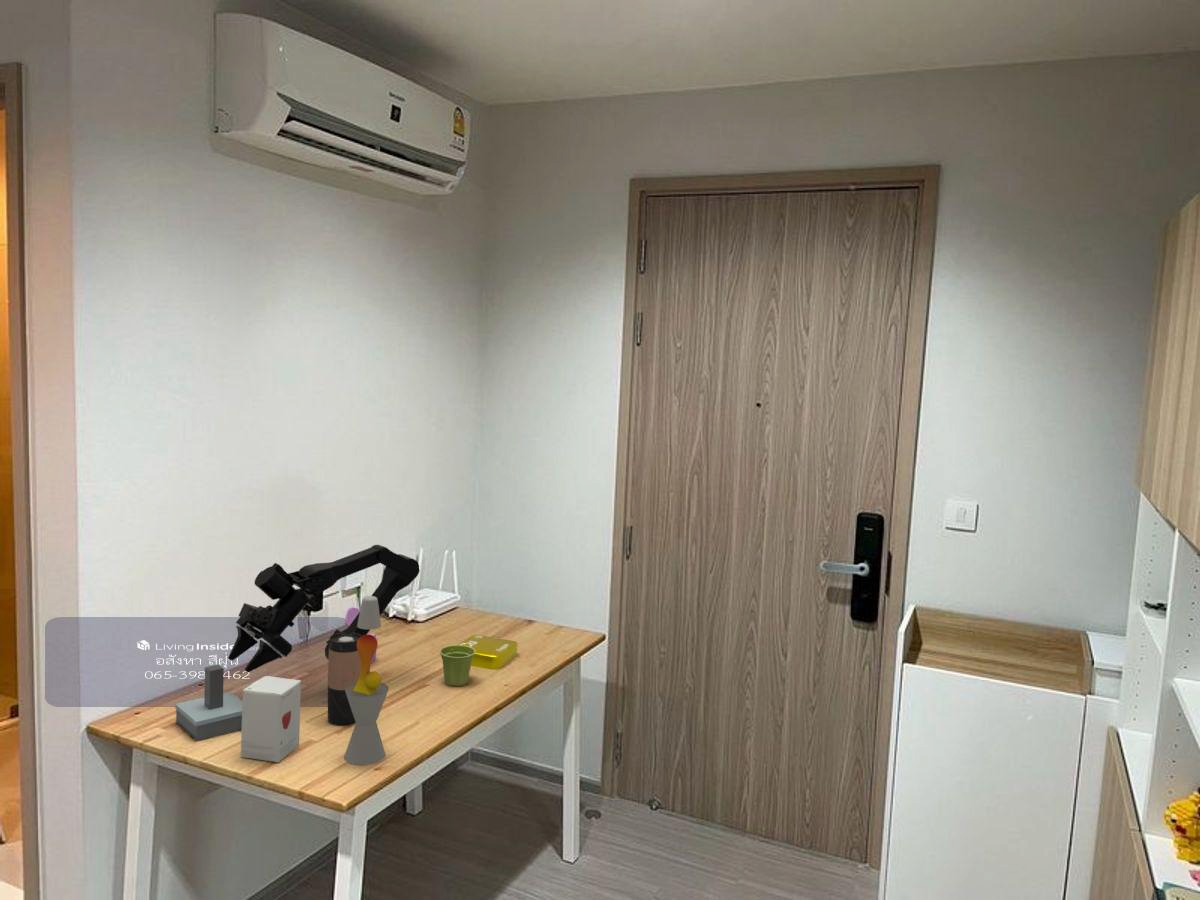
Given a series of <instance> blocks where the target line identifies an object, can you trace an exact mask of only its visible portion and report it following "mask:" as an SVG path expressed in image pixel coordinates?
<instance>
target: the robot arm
mask: <svg viewBox="0 0 1200 900" xmlns="http://www.w3.org/2000/svg"><path fill="white" fill-rule="evenodd" d="M378 564H381V565H383V566H385V567H384V569H383V574H382V580H381V582H380V583H379V584H378V586H377V587H376V588H375V590H374V591H373V593H372V595H371V596H374V597H376V598H377V599H378V606H379V614H380V616H381V615H382V614H383V613H384V611H385V610H386V608H387V607H388V606H389V604H390V603H391V601H392V600H393V598H394V597H395V596H396V594H397V593H398V592H399V591H401V590H403V589H405V588H407V587H408V586H410V584H411V583H412V582H414V580H415V579H416V578H417V577H418V575H419V574H420V563H419V562H418V560H416V559H414V558H412V557H411V556H410V557H409V556H407V555H404V554H401V553H399V554H398V553H395V552H394V551H392V550H390V549H389V548H388V547H386V546H384V545H381V544H374V545H371V547H369V548H366V549H363V550H360V551H357V552H355V553H353V554H350V555H347V556H345V557H342V558H339V559H337V560H334V561H331V562H330V561H329V562H318V563H313V564H307V565H304V566H302V567H301V568H300V569H299V570H297V571H296V570H295V571H292V572H289V573H288V572H287V571H285V569H284V568H283V566H281V565H280V564H278V563H277V562H275V563H273V564H272V565H271V566H269V567H267V568H265V569H263V570H262V571H260V572H259V573H257V576H256V578H255V579H254V586H256V588H258V589H259V590H260V591H262V592H263V593H264V594H265V595H266V596H267V598H269V599H271V600H272V601H273V600H274V601H275V600H277V601H276V602H275V603H274V604H273V605H271V604H269V605H267V606H265V607H264V606H262V605H260V606H255V605H251V604H249V603H246V602H244V603H243V605H242V607H241V609H240V612H239V613H238V617H239V618H238V619H237V620H236V621H235V623H236V624H237V625H236V627H235V628H236V629H237V630H236V631H237V637H236V640H235V643H234V644H233V646H232V648H231V650H230V653H229V654H228V658H227V659H228V660H229V661H231V662H233V661H234V660H235V659H237V658H239V657H240V656H241V655H243V654H244V653H245V652H247V651H248V650H250V649H251V648H252V647H253V646H255V645H256V644H258V643H259V644H258V649H257V651H256V652H255V654H254V655H253V656H252V658H251V659H250V661H249V662H248V664H247V665H246V667H245V668H244V671H245V672H246V673H250V672H252V671H254V670H257V669H258V668H260V667H262V666H264V665H266V664H268V663H271V662H272V661H273V662H274V661H275V660H277V659H282V658H283V656H284V657H285V658H287V657H288V656H289V655H290V653H291V652H292V650H293V647H292V646H293V645H292V644H291V643H290V642H289V641H288V640H287V639H285V638H284V637H283V636H282V634H283V633H284V631H285V630H286V629H287V628H288V627H291V628H292V627H293V626H294V625H295V623H294V622H293V621H294V620H295V618H296V617H297V616H298V615H299V614H300V613H301V611H303V609H304V608H305V607H307V606H309V607H311V608H313V609H315V608H316V596H315V595H313V594H321V593H323V592H324V591H326V590H328V589H330V588H332V587H333V586H334V585H335V584H336V583H337V582H338V581H340V580H341V579H343V578H346V577H347V576H351V575H354V574H356V573H358V572H361V571H363V570H366V569H369V568H372V567H373V566H377V565H378ZM294 586H296V587H298V588H295V587H294ZM304 590H307V591H308V592H311V593H313V594H307V593H306V591H304ZM306 605H307V606H306ZM359 614H360V612H359V613H358V615H357V616H356V618H355V619H354V620H353V622H352V623H351V624H350V626H349V627H348V628H346V629H343V630H339V629H336V630H334V632H333V634H332V635H334V634H337V633H342V634H344V635H349V634H351V633H357V634H360V635H361V636H363V635H366V634H369V632H370V631H371V629H360V628H358V627H357V624H358V619H359ZM262 639H263V640H262ZM258 640H259V641H258ZM325 643H326V646H325V647H324V656H325V658H326V659H327V660H328V661H329V639H328V640H326V641H325Z"/></svg>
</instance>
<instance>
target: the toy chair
mask: <svg viewBox="0 0 1200 900" xmlns="http://www.w3.org/2000/svg"><path fill="white" fill-rule="evenodd" d="M359 612H360V609H359V608H358V607H350V608H348V609H347V610H346V613H345V617H344V624H345V626H346V627H347V628H348V627H349V626H350V624H351V623H352V622H353V620H354V619H355V618H356V616H357V615H358V613H359ZM347 628H346V629H347ZM368 634H369V635H372V636H374V637H375V638H376V640H377V641H378V638H377V634H376V633H368ZM376 660H377V649H376V651H375V653H374V655H373V658H372V661H371V664H372V663H374V662H375V661H376Z"/></svg>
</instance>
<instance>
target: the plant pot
mask: <svg viewBox="0 0 1200 900" xmlns="http://www.w3.org/2000/svg"><path fill="white" fill-rule="evenodd" d="M475 652H476V651H475V649H474V648H472V647H469V646H463V645H458V644H453V645H447V646H444V647H441V649H440V650H439V654H440V655H441V656H440V657H441V659H442V665H443V666H442V668H443V678H444V680H443V681H444V683H445V684H446V685H447V686H450V687H451V686H456V687H462V686H465V685H467V684H468V682H469V677H470V672H471V667H472V666H471V662H472V659H473V656H474V654H475Z"/></svg>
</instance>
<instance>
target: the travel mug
mask: <svg viewBox="0 0 1200 900" xmlns="http://www.w3.org/2000/svg"><path fill="white" fill-rule="evenodd" d="M360 637H361V635H360V634H357V633H351V634H349V635H344V634H342V633H337V634H334V635H333V634H332V635H330V636H329V639H328V640H329V660H328V662H327V663H328V664H327V665H328V666H327V667H328V668H327V669H328V670H327V721H328V723H329V724H330V725H331V726H332V725H333V726H339V727H340V726H341V727H342V726H351V725H355V724H356V722H355V719H354V716H353V713H352V710H351V707H350V704H349V701H348V698H347V695H346V692H345V689H346V687H347V686H349V685H351V684H353V683H357V682H358V679H359V676H360V671H361V661H360V656H359V653H358V649H357V641H358V639H359V638H360Z"/></svg>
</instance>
